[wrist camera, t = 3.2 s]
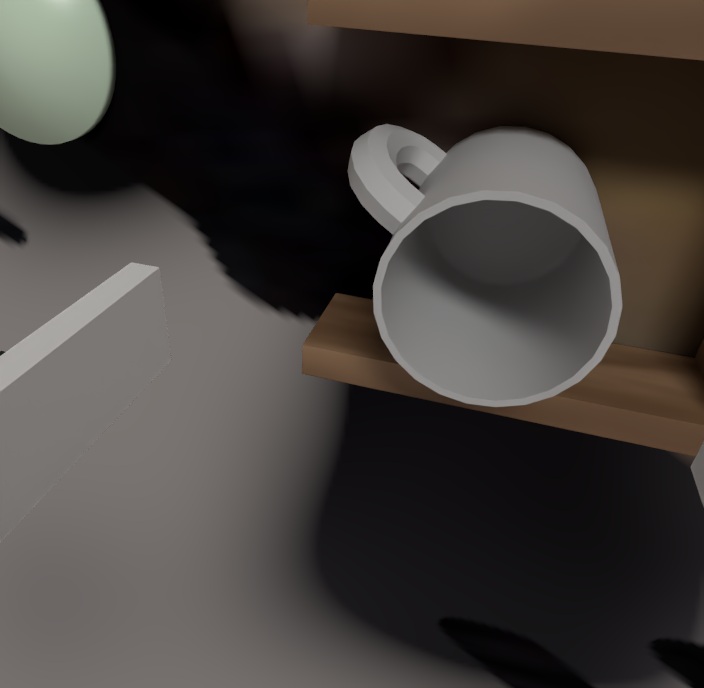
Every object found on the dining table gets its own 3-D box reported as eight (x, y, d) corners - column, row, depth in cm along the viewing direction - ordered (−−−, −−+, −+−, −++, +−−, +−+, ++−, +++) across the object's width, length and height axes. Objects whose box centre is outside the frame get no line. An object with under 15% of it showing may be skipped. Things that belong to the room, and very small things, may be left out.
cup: (508, 317, 27) (497, 442, 20) (338, 181, 26) (260, 260, 19) (637, 201, 23) (682, 304, 16) (443, 32, 22) (396, 60, 15)
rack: (352, -31, 22) (308, -33, 18) (909, 9, 18) (1017, 18, 14) (334, 319, 30) (302, 373, 26) (717, 391, 26) (750, 468, 22)
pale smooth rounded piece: (-92, -91, 25) (-105, -92, 24) (96, -80, 23) (86, -81, 23) (-29, 130, 30) (-39, 132, 29) (129, 152, 28) (122, 155, 27)
